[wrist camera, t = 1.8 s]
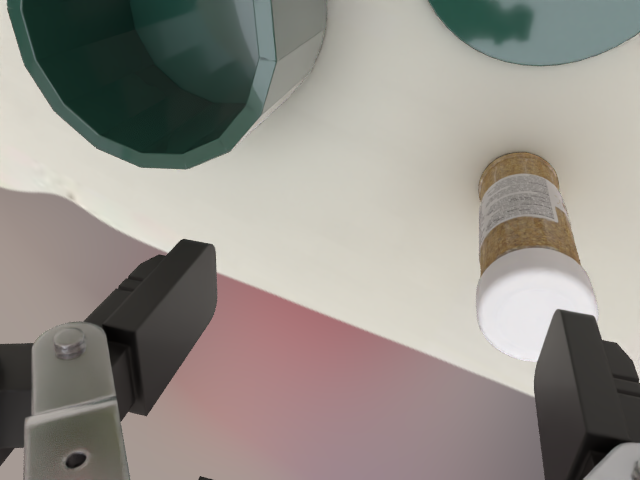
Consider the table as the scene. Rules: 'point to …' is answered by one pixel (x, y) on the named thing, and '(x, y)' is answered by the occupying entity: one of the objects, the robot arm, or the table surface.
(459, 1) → the lid
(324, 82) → the table surface
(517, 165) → the sprinkles bottle
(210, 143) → the pot
